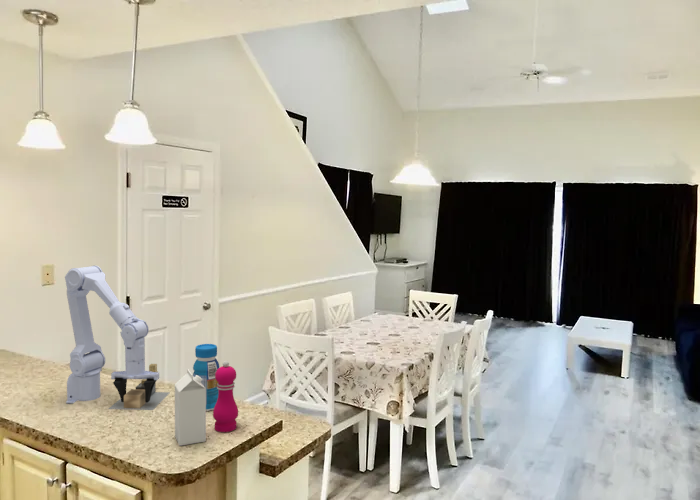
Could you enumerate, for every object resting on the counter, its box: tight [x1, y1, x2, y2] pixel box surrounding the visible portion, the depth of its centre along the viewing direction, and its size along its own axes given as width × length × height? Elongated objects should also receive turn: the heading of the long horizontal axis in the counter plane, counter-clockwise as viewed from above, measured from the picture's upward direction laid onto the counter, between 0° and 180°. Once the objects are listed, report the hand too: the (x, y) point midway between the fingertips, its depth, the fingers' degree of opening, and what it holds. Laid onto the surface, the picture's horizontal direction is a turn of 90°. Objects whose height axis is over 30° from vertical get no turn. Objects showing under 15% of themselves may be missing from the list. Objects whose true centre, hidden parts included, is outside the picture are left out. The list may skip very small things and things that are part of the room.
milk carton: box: [174, 368, 207, 447], centre depth 150 cm, size 7×7×19 cm
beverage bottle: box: [192, 343, 220, 412], centre depth 174 cm, size 8×8×20 cm
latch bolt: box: [140, 363, 159, 384], centre depth 185 cm, size 2×10×4 cm, turn 0°
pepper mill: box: [212, 360, 239, 433], centre depth 158 cm, size 7×7×20 cm
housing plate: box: [108, 382, 171, 411], centre depth 177 cm, size 14×16×5 cm
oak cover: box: [124, 388, 146, 408], centre depth 173 cm, size 5×6×4 cm
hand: (135, 401), depth 173 cm, fingers open, 7 cm apart
